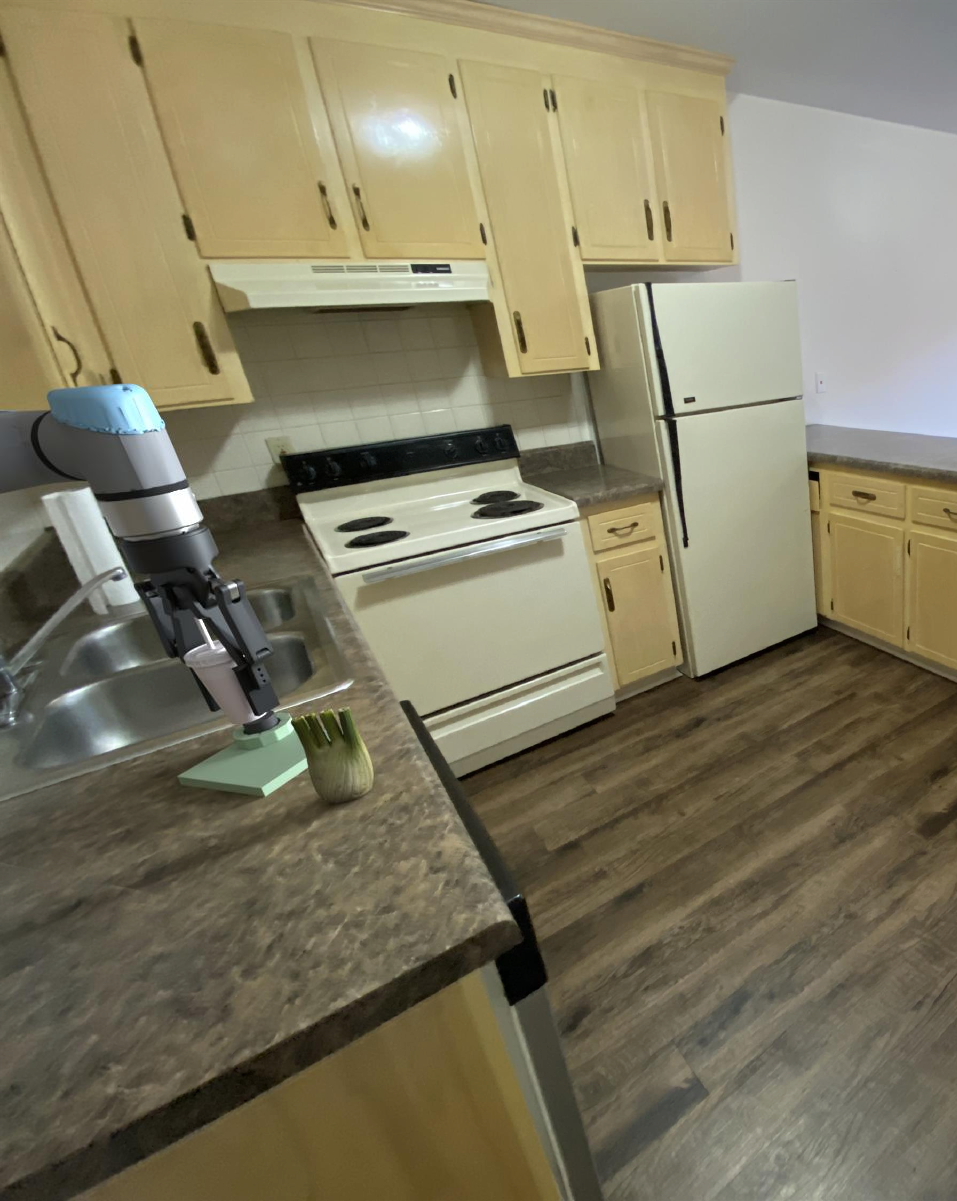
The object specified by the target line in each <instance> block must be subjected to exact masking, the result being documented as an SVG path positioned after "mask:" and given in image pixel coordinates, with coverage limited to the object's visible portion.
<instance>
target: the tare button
mask: <svg viewBox="0 0 957 1201" xmlns="http://www.w3.org/2000/svg"><path fill="white" fill-rule="evenodd" d="M275 713H276V712H275V711H274V710H273V709H272V710H270V711H268V712H267V713H266V714H265V715H264V716H262V717H260V718H259V719H256V720H254V721H251V722H248V723H245V724H242V725H243V727H244V729H245V731H246V733H247V734H248V735H252V734H257V733H262V732H264V731H267V730H270V729H271V728H273V727H275V726H276V725H278V724H279V722H278V719H277V717H276V715H275Z"/></svg>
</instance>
